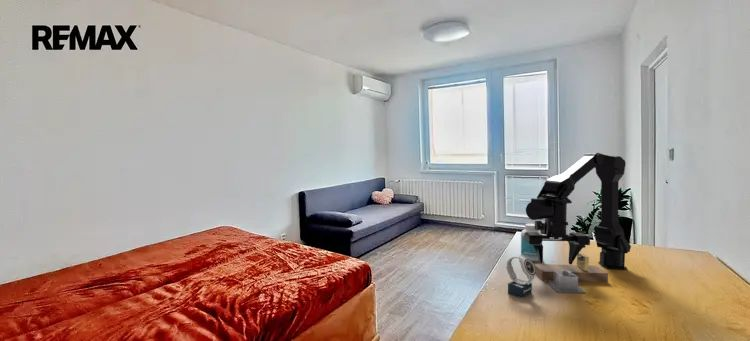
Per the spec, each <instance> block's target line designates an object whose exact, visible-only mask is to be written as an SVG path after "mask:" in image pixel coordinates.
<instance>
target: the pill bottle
mask: <svg viewBox="0 0 750 341" xmlns="http://www.w3.org/2000/svg"><path fill="white" fill-rule="evenodd" d="M524 228H525V229H523V230H521V233H520V256H524V257H526V258H527V259H529V260H531V261H532V262H533V263H534V262H535V263H537V262H539V259H538V256H537V253H536V251H535V248H534V246H532V245H531V244H529V243H528V242H526V241H525V240H524V234H525V233H526V232H537V233H539V234H540V235H543V233H541V232H540V230H535V223H525V225H524ZM541 244H542V245H543V242H542V243H541Z"/></svg>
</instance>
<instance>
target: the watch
mask: <svg viewBox="0 0 750 341" xmlns="http://www.w3.org/2000/svg"><path fill="white" fill-rule="evenodd" d="M514 259H518V261H519V263H520V268H521V271H522V272H523V274H524V275H526V278H527V280H524V279H520V278H518V277H517V274H516V273H515V270H514V267H513V265H512V264H513V263H512V262H513V260H514ZM534 264H535V263H534V262H532V261H531V260H529V259H527V258H526V257H524V256H521V255H515V256H512V257H510V258H509V259H507V261H506V266H505V267H506V272H507V274H508V276H509V278H510V280H512V281H509V282H507V294H509V295H511V296H515V297H518V298H520V299H524V298H526V297H527V296H530V295H531V294H532V293H533V292H532V291H533V286H532V285H533V280H534V279H535V276H536V274H535V273H536V269H535V266H534Z"/></svg>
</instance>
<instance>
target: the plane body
mask: <svg viewBox="0 0 750 341" xmlns="http://www.w3.org/2000/svg"><path fill="white" fill-rule="evenodd" d="M533 264H534V266H535V269H536V273H535V276H537V277H538V278H539V279H540V280H541V281H545V282H546V281H553V270H555V271H571V272H572V273H574V274H575V275H576V276H577V277H578V283H579V282H580V283H581V282H582V283H608V282H609V273H608V272H606V270H604V269H603V268H602V267H601V268H600V267H599V266H597V265H590V264H589V269H588V271H584V270H582V269H581V268H580V267H578V266H577V264H571V265H570V264H550V263H549V264H548V263H547V264H543V263H542V264H541V263H533Z"/></svg>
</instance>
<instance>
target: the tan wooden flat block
mask: <svg viewBox="0 0 750 341" xmlns="http://www.w3.org/2000/svg"><path fill="white" fill-rule="evenodd" d="M589 261H590V257H589V256H588V255H586V254H585V253H583V252H581V251H580V252H579V253H578V255H577V256H576V265H577V266H578V267H580V268H581V269H582V270H584V271H588V269H589V265H590V262H589Z"/></svg>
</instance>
